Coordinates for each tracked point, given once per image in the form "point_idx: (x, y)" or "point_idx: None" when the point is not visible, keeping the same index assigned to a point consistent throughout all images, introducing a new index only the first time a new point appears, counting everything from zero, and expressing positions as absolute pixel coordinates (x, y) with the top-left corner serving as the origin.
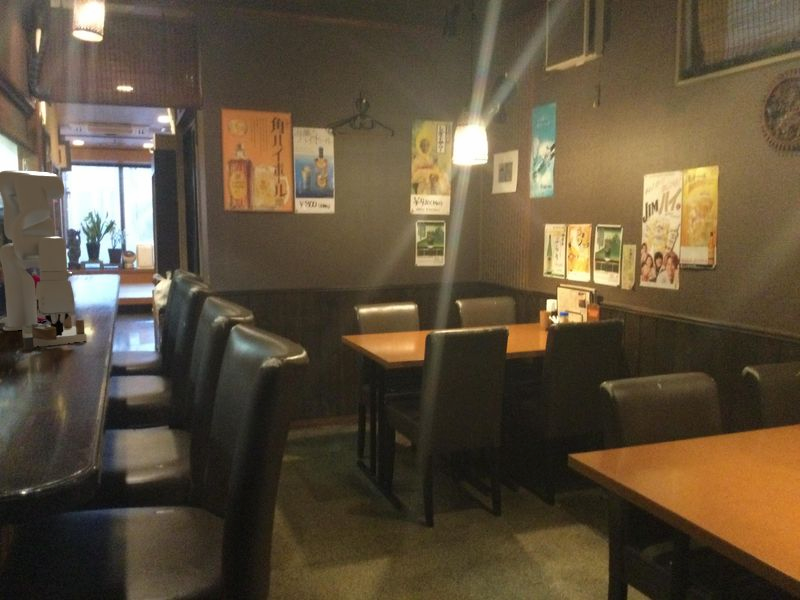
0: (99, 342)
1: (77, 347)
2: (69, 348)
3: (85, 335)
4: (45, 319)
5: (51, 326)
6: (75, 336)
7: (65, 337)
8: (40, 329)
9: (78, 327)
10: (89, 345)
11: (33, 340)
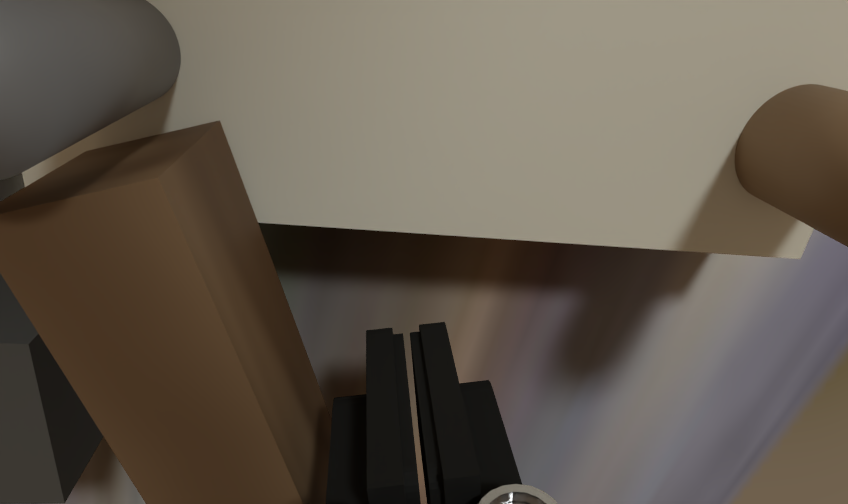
0: (784, 336)
1: (518, 466)
2: None
3: (777, 251)
4: None
5: (330, 489)
6: (659, 243)
7: (536, 231)
8: (142, 474)
9: (826, 229)
10: (635, 433)
11: None
